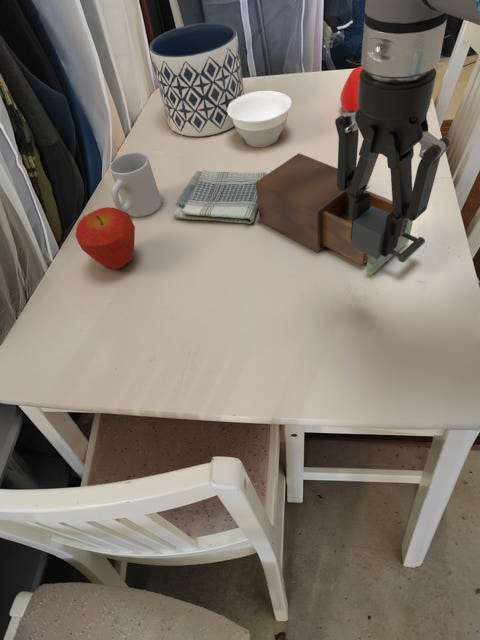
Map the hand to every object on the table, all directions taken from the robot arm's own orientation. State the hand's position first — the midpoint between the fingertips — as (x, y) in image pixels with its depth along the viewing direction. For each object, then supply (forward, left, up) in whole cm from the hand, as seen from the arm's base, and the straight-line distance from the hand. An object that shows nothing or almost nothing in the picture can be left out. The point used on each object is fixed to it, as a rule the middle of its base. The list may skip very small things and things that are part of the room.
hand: (373, 242), depth 63 cm
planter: (+70, -44, -15) cm, 83 cm away
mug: (+57, -3, -15) cm, 59 cm away
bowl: (+49, -41, -15) cm, 65 cm away
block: (0, 0, 0) cm, 0 cm away
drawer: (+6, -14, -14) cm, 21 cm away
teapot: (+29, -63, -15) cm, 71 cm away
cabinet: (+21, -17, -15) cm, 30 cm away
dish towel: (+42, -15, -15) cm, 47 cm away
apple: (+48, +12, -15) cm, 51 cm away
